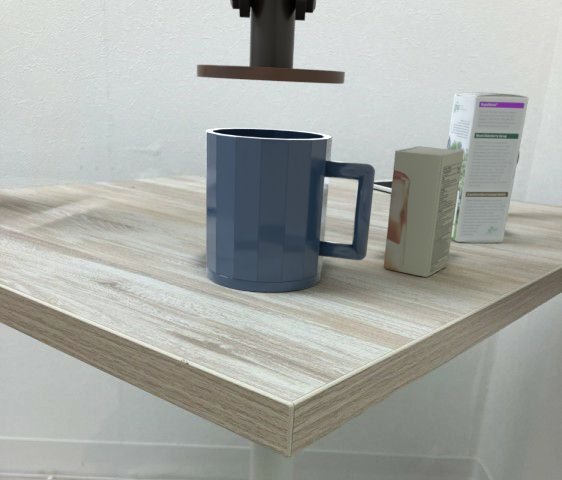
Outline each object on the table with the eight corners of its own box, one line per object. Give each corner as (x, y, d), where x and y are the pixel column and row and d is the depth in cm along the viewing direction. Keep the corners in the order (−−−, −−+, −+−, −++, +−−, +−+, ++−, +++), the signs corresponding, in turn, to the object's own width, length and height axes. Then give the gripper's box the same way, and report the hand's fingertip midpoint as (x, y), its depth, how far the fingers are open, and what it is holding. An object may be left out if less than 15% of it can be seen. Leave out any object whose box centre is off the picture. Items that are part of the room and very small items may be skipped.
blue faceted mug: (188, 283, 50) (186, 132, 46) (229, 255, 58) (231, 126, 54) (352, 305, 47) (368, 146, 43) (371, 272, 55) (386, 137, 51)
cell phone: (395, 182, 105) (395, 178, 105) (467, 199, 93) (468, 195, 93) (357, 184, 101) (357, 180, 101) (427, 202, 89) (428, 197, 89)
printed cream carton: (404, 258, 61) (419, 145, 56) (448, 267, 58) (467, 150, 54) (379, 268, 57) (393, 148, 53) (425, 278, 55) (443, 154, 50)
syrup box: (504, 243, 69) (533, 95, 62) (452, 242, 68) (476, 92, 62) (481, 231, 74) (505, 93, 68) (432, 230, 73) (452, 90, 67)
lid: (171, 75, 44) (168, -65, 40) (226, 77, 53) (227, -36, 50) (327, 83, 41) (337, -66, 38) (355, 84, 51) (366, -35, 47)
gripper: (185, -222, 46) (159, -51, 40) (382, -212, 46) (386, -39, 40) (196, -112, 53) (175, 48, 47) (367, -103, 53) (368, 58, 47)
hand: (272, 7), depth 44 cm, fingers closed on lid, 3 cm apart
